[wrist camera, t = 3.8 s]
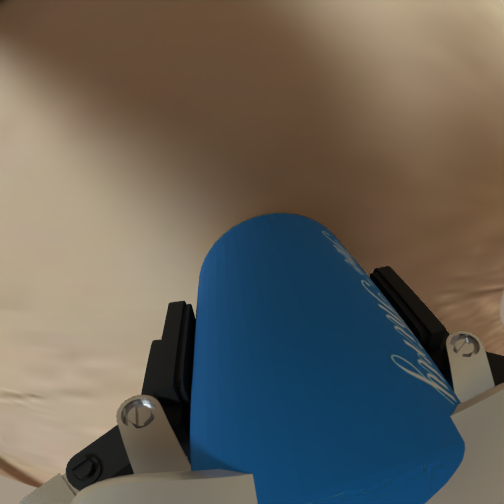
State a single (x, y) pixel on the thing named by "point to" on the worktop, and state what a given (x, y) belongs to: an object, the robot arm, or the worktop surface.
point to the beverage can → (313, 375)
